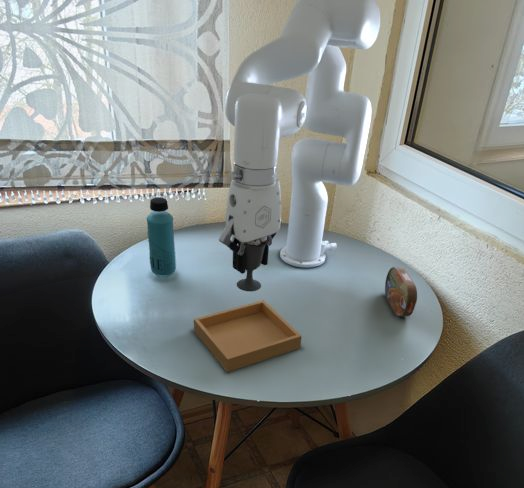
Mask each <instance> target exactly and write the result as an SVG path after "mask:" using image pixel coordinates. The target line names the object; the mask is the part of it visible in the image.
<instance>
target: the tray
mask: <svg viewBox="0 0 524 488" xmlns="http://www.w3.org/2000/svg"><path fill="white" fill-rule="evenodd" d="M193 333H195V334H196V336H197V337H198V339H200V341H201V342H202V343H203V344H204V345H205V347H206V348H207V349H208V351H210V353H211V354H212V355H213V357H214V358H215V359H216V360H217V361H218V362H219V364H220V365H221V366H222V368H223V369H224V370H225V371H226V372H227V373H230V372H232V371H236V370H238V369H242V368H244V367H248V366H250V365H254V364H256V363H259V362H263V361H266V360H269V359H271V358H275V357H278V356H280V355H284V354H286V353H290V352H293V351H296V350H298V349H301V344H302V337H303V335H301V334H300V333H299V331H298V330H297V329H296V328H294V327H293V326H292V325H291V324H290V323H289V322H288V321H287V320H285V319H284V318H283V317H282V315H280V314H279V313H278V312H277V311H276V310H275V309H273V307H272V306H270V304H269V303H267V302H266V301H265V300H264V299H263V300H258V301H256V302H252V303H248V304H244V305H240V306H237V307H232V308H229V309H226V310H223V311H218V312H215V313H210V314H207V315H203V316H199V317H195V318H193Z"/></svg>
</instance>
